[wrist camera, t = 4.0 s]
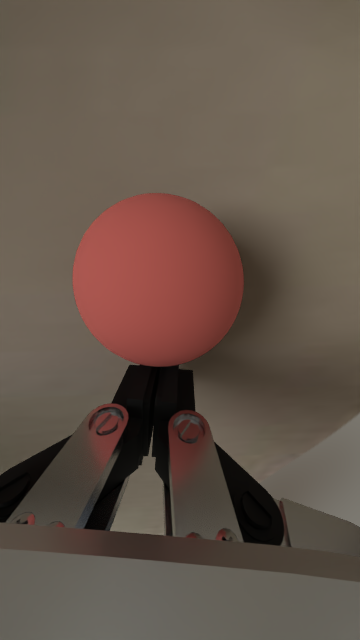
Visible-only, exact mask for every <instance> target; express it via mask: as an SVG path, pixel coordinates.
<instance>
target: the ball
mask: <svg viewBox="0 0 360 640" xmlns="http://www.w3.org/2000/svg"><path fill="white" fill-rule="evenodd" d="M243 287H244V276H243V266H242V262H241V259H240V255H239V251H238V249H237V247H236V245H235V243H234V241H233V239H232V236H231V235H230V234H229V232H228V231H227V229H226V228H225V227H224V225H223V224H222V223H221V222H220V221H219V220H218V219H217V218H216V217H215V216H214V215H213V214H212V213H211V212H210V211H208V210H207V209H205V208H204V207H202V206H200V205H199V204H197V203H195V202H193V201H191V200H189V199H186V198H183V197H179V196H176V195H171V194H162V193H149V194H141V195H137V196H133V197H130V198H127V199H124V200H122V201H120V202H118V203H116V204H115V205H113V206H111V207H110V208H108V209H107V210H105V211H104V212H103V213H102V214H101V215H100V216H99V217H98V218H97V219H96V220H95V221H94V222H93V223H92V224H91V226H90V227H89V228H88V230H87V231H86V233H85V234H84V236H83V238H82V240H81V243H80V245H79V247H78V249H77V252H76V257H75V261H74V266H73V290H74V296H75V300H76V304H77V307H78V310H79V312H80V315H81V317H82V319H83V321H84V322H85V324H86V326H87V327H88V329H89V330H90V331H91V333H92V334H93V335H94V336H95V337H96V338H97V340H98V341H100V342H101V343H102V344H103V345H104V346H105V347H106V348H107V349H109V350H110V351H111V352H113V353H114V354H116V355H118V356H120V357H122V358H124V359H126V360H128V361H131V362H134V363H137V364H141V365H145V366H154V367H166V366H174V365H179V364H183V363H186V362H189V361H191V360H193V359H196V358H198V357H200V356H202V355H203V354H205V353H207V352H208V351H209V350H211V349H212V348H213V347H214V346H215V345H216V344H218V343H219V342H220V341H221V340H222V338H223V337H224V336H225V335H226V334H227V332H228V331H229V329H230V328H231V326H232V324H233V323H234V321H235V319H236V316H237V314H238V311H239V309H240V305H241V301H242V296H243Z"/></svg>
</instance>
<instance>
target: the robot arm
mask: <svg viewBox="0 0 360 640" xmlns="http://www.w3.org/2000/svg"><path fill="white" fill-rule="evenodd" d="M153 425H154V427H153ZM152 431H153V445H152V457H156V462H155V470H156V472H157V473H158V475H159V476H160V477H161V479H162V480H163V506H164V536H163V535H151V534H139V533H127V532H115V531H110V529H111V526H112V523H113V521H114V518H115V515H116V513H117V510H118V507H119V505H120V502H121V499H122V497H123V494H124V491H125V489H126V486H127V483H128V479H129V475H130V474H132V473H133V472H134V471H135V470H136V469H138V466H139V465H141V464H142V459H143V456H148V454H149V448H150V442H151V437H152ZM0 640H360V527H358V526H357V525H355V524H353V523H351V522H349V521H346V520H343V519H340V518H338V517H335V516H332V515H329V514H326V513H324V512H321V511H317V510H315V509H312V508H310V507H306V506H304V505H301V504H298V503H296V502H293V501H290V500H287V499H284V498H281V500H280V501H279V500H276V499H274V498H272V496H271V495H270V494H269V493H268V492H267V491H266V490H265V489H264V488H263V487H262V486H261V485H260V484H259V483H258V482H257V481H256V480H255V479H254V478H252V477H251V476H250V475H249V474H248V473H247V472H246V471H245V470H244V469H243V468H242V467H241V466H240V465H239V464H237V463H236V462H235V461H234V460H233V459H232V458H231V457H230V456H229V455H228V454H227V453H226V452H225V451H224V450H223V449H221V448H220V447H219V446H218V445H217V444H216V443H215V442H214V440H213V437H212V434H211V430H210V427H209V425H208V422H207V420H206V419H205V418H204V417H203V416H202V415H200V414H199V413H197V412H195V399H194V383H193V371H192V370H183V369H179V365H174V366H166V367H154V366H145V365H141V364H140V365H129V367H128V369H127V371H126V373H125V375H124V377H123V380H122V382H121V384H120V386H119V388H118V390H117V392H116V394H115V397H114V399H113V401H112V403H110V404H104V405H102V406H99V407H97V408H96V409H94V410H92V411H91V412H90V413H89V414H88V415H87V417H86V418H85V419H84V421H83V422H82V423H81V425H80V426H79V427H78V428H77V430H76V431H75V432H74V434H73V435H71V436H69V437H67V438H65V439H63V440H62V441H60V442H58V443H56V444H54V445H52V446H51V447H49V448H47V449H45V450H43V451H41V452H40V453H38V454H36V455H34V456H32V457H31V458H29V459H27V460H25V461H23V462H21V463H20V464H18V465H16V466H14V467H12V468H10V469H9V470H7V471H6V472H4V473H3V474H1V475H0Z"/></svg>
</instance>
